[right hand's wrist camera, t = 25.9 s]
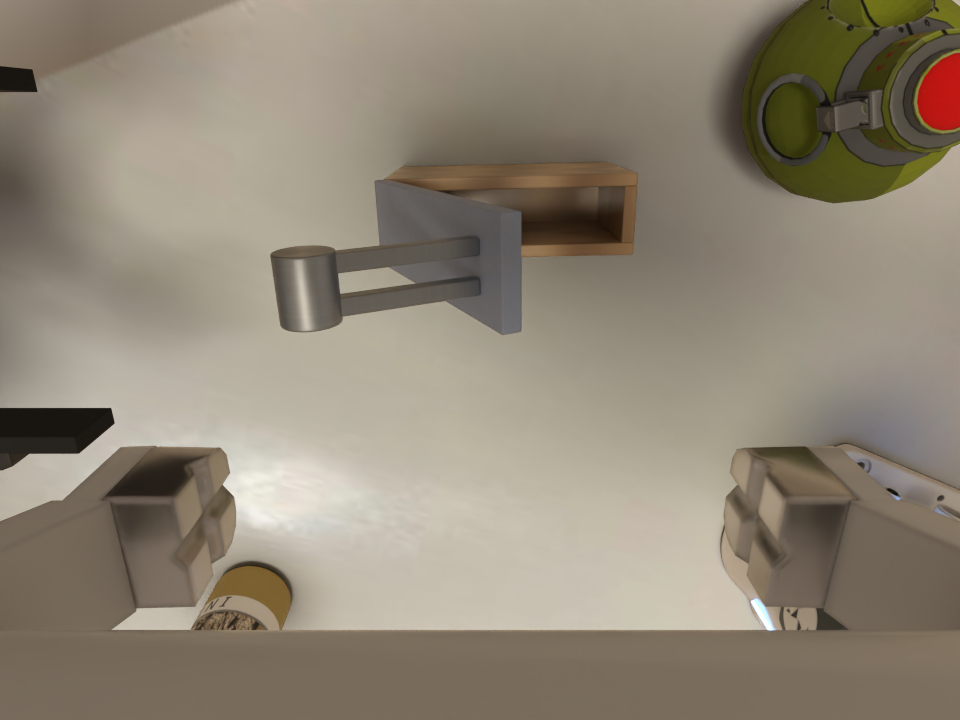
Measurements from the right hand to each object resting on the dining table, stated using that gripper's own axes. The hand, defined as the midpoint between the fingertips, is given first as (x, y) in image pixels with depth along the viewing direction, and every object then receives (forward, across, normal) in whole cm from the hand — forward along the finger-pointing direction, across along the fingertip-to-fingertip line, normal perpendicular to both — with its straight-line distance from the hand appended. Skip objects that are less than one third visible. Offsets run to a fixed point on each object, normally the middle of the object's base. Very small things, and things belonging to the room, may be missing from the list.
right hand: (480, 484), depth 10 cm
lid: (+21, +2, 0) cm, 21 cm away
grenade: (+37, -21, -6) cm, 43 cm away
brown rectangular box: (+37, -2, 0) cm, 37 cm away
